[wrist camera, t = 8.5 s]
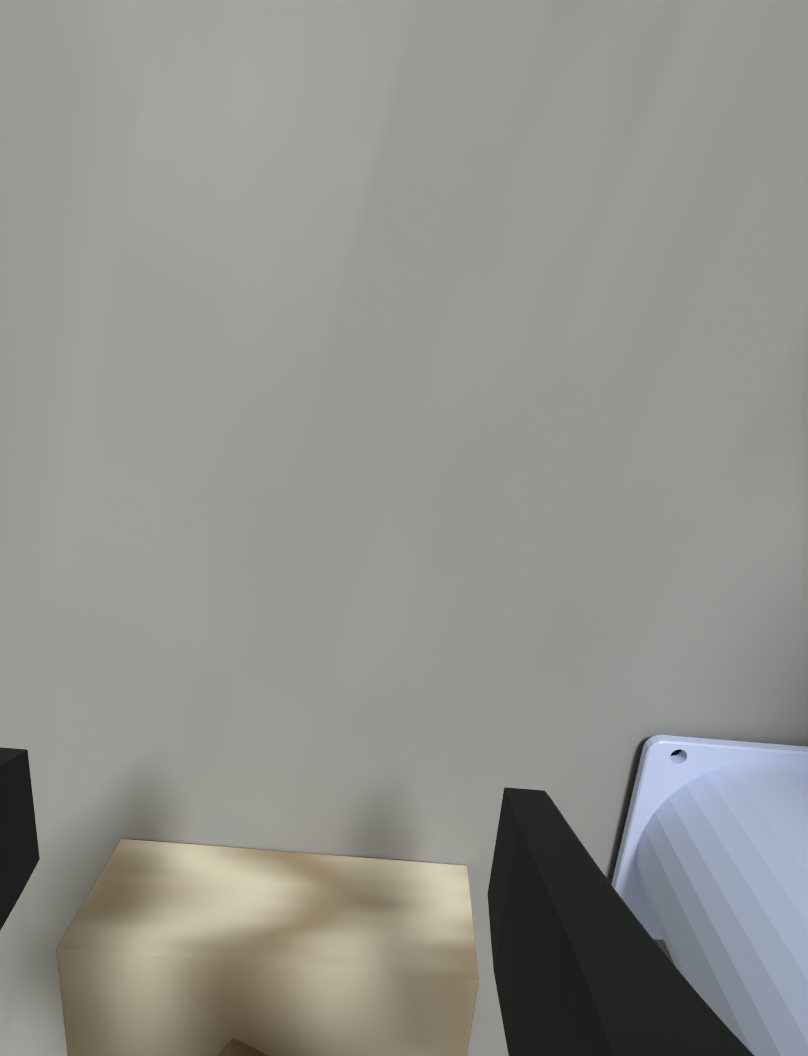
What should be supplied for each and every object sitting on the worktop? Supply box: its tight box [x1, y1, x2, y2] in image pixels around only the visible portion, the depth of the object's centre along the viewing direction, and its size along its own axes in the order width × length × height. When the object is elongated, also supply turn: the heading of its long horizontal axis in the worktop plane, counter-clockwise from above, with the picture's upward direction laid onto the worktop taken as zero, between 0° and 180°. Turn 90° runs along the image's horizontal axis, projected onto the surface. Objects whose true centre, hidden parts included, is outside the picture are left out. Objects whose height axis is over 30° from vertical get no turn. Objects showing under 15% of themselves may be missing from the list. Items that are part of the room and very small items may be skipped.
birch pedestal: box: [56, 839, 479, 1056], centre depth 21 cm, size 12×12×4 cm
